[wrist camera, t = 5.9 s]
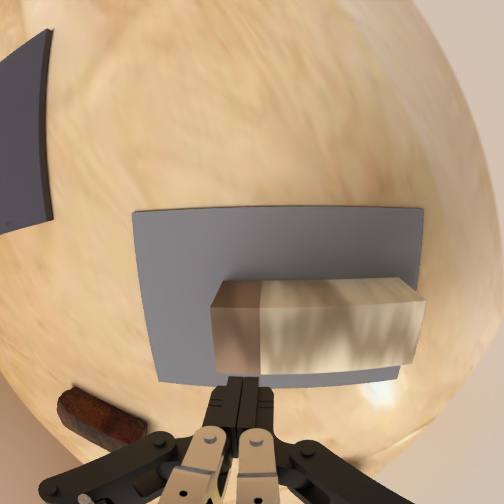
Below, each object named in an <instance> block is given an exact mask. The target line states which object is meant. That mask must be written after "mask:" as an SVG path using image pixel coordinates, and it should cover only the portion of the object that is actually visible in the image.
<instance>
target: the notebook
mask: <svg viewBox="0 0 504 504" xmlns="http://www.w3.org/2000/svg"><path fill="white" fill-rule="evenodd" d="M52 32H53V31H51V30H49V29H45V30H44V31H42V32H41V33H39V34H38V35H36V36H35V37H33V38H32V39H30V40H29V41H28V42H26V43H25V44H23V45H22V46H21V47H19V48H18V49H17V50H15V51H14V52H13V53H11V54H10V55H9V56H7V57H6V58H5V59H4V60H2V61H1V62H0V235H1V234H4V233H8V232H11V231H14V230H18V229H21V228H25V227H29V226H32V225H36V224H40V223H43V222H47V221H51V220H53V214H52V208H51V200H50V193H49V184H48V173H47V160H46V140H45V102H46V83H47V70H48V61H49V52H50V45H51V38H52Z"/></svg>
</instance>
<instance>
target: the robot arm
mask: <svg viewBox="0 0 504 504" xmlns="http://www.w3.org/2000/svg"><path fill="white" fill-rule="evenodd" d="M273 414H274V393H273V392H272V390H271V388H270V387H259V377H240V376H229V377H228V381H227V385H226V386H221V385H218V386H217V387H216V388H215V389H214V390H213V391H212V393H211V397H210V400H209V404H208V407H207V411H206V414H205V418H204V421H203V425H202V428H200V429H198V430H197V431H196V432H195V434H194V435H193V436H190V437H186V438H177V439H175V438H174V437H173V435H171V434H170V433H168V432H164V431H157V432H153V433H151V434H149V435H147V436H145V437H143V438H141V439H139V440H137V441H135V442H133V443H131V444H129V445H127V446H124V447H122V448H120V449H118V450H116V451H114V452H112V453H109V454H107V455H105V456H103V457H100V458H98V459H96V460H94V461H91V462H89V463H86V464H84V465H82V466H79V467H77V468H74V469H72V470H69V471H67V472H64V473H61V474H58V475H56V476H53V477H50V478H47V479H45V480H43V481H42V482H41V483H40V485H39V488H38V491H39V495H40V497H41V498H42V499H43V500H44V501H45V502H46V503H47V504H146V503H148V502H150V501H152V500H153V499H155V498H157V497H159V496H161V497H160V499H159V502H158V504H223V500H224V496H225V492H226V488H227V485H228V481H229V477H230V473H231V466H232V459H233V458H238V457H239V472H238V475H237V499H236V504H280V496H279V485H283V486H287V488H288V489H289V490H290V491H291V492H292V493H293V494H294V495H295V496H296V497H298V498H299V499H300V500H301V501H302V502H303V503H305V504H414V503H412V502H411V501H409V500H407V499H405V498H403V497H402V496H400V495H398V494H396V493H395V492H393V491H391V490H389V489H388V488H386V487H385V486H383V485H381V484H380V483H378V482H376V481H375V480H373V479H372V478H370V477H368V476H367V475H365V474H364V473H362V472H361V471H359V470H358V469H356V468H355V467H353V466H352V465H350V464H349V463H347V462H346V461H344V460H343V459H341V458H340V457H338V456H337V455H336V454H334V453H333V452H331V451H330V450H329V449H327V448H326V447H324V446H323V445H322V444H320V443H319V442H317V441H314V440H302V441H299V442H297V443H296V444H289V443H286V442H283V441H281V440H279V439H278V438H277V437H276V436H275V434H274V432H273ZM278 484H279V485H278Z"/></svg>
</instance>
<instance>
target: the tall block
mask: <svg viewBox="0 0 504 504" xmlns="http://www.w3.org/2000/svg"><path fill="white" fill-rule="evenodd" d="M425 305H426V300H425V299H424V298H423V297H422V296H420V295H419V294H418V293H417V292H416V291H415V290H413V289H412V288H411V287H410V286H409V285H407V284H406V283H405V282H404V281H403V280H401V279H400V278H399V277H391V278H365V279H331V280H274V281H222V284H221V286H220V288H219V290H218V292H217V294H216V296H215V298H214V300H213V302H212V304H211V306H210V314H211V325H212V335H213V345H214V355H215V364H216V373H225V374H311V373H330V372H344V371H355V370H366V369H375V368H383V367H391V366H398V365H405V364H412V362H413V358H414V355H415V351H416V347H417V343H418V339H419V334H420V330H421V325H422V321H423V316H424V311H425Z"/></svg>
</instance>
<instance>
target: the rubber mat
mask: <svg viewBox="0 0 504 504" xmlns="http://www.w3.org/2000/svg"><path fill="white" fill-rule="evenodd" d="M423 216H424V209H415V208H390V207H349V206H270V207H228V208H201V209H179V210H161V211H145V212H133V213H132V223H133V234H134V244H135V253H136V261H137V269H138V276H139V283H140V290H141V297H142V303H143V309H144V315H145V320H146V325H147V331H148V336H149V341H150V346H151V350H152V355H153V359H154V364H155V368H156V372H157V376H158V381H159V382H167V383H176V384H186V385H197V386H211V387H217V386H218V385H221V386H226V385H227V381H228V377H229V376H240V377H259V387H270V388H309V387H327V386H340V385H352V384H361V383H370V382H378V381H386V380H393V379H397V377H398V373H399V370H400V366H401V365H398V366H391V367H383V368H375V369H366V370H355V371H344V372H330V373H311V374H225V373H216V364H215V355H214V345H213V335H212V325H211V314H210V306H211V304H212V302H213V300H214V298H215V296H216V294H217V292H218V290H219V288H220V286H221V284H222V281H274V280H331V279H365V278H391V277H399V278H400V279H401V280H403V281H404V282H405V283H406V284H407V285H409V286H410V287H411V288H412V289H413V290H415V291H416V288H417V281H418V273H419V265H420V256H421V246H422V233H423Z"/></svg>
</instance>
